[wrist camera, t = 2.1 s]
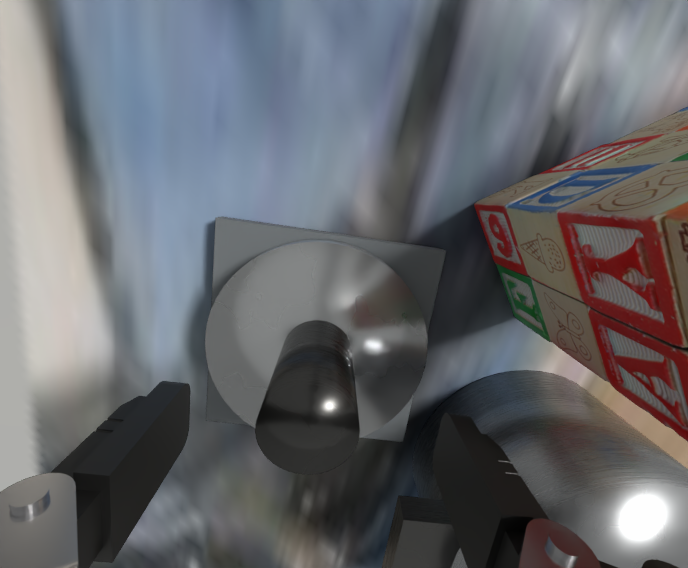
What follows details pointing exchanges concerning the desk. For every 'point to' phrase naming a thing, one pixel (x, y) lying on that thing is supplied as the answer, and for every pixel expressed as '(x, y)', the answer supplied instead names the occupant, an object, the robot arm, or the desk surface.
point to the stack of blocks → (606, 262)
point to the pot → (554, 474)
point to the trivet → (256, 237)
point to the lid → (315, 349)
